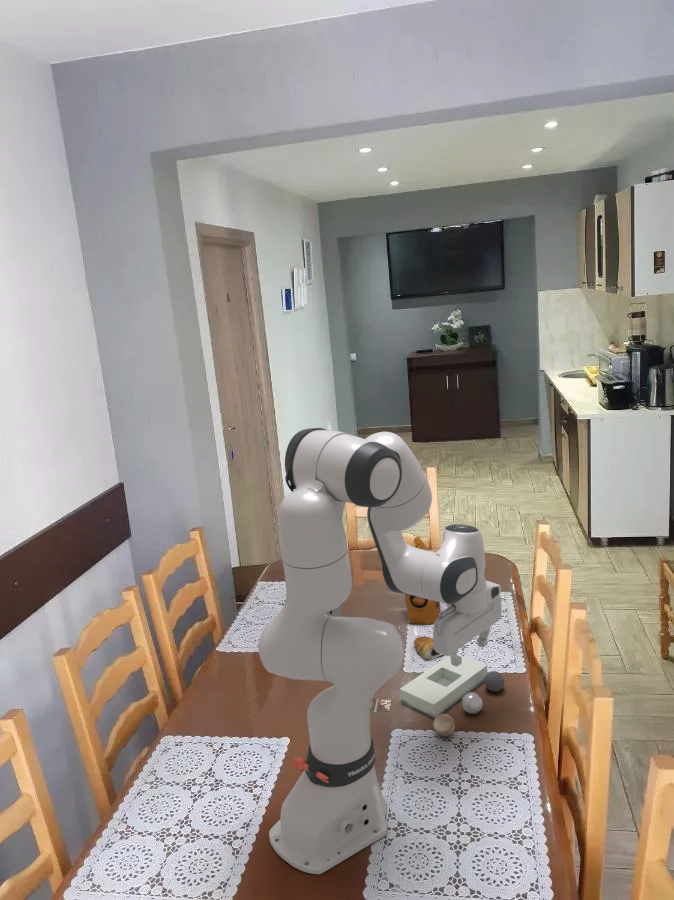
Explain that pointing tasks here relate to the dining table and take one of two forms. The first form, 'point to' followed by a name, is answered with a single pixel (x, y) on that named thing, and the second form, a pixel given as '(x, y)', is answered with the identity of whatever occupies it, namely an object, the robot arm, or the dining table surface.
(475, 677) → the pocket board
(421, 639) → the pastry
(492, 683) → the rubber ball
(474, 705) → the steel ball
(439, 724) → the ash ball
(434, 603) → the coffee package
